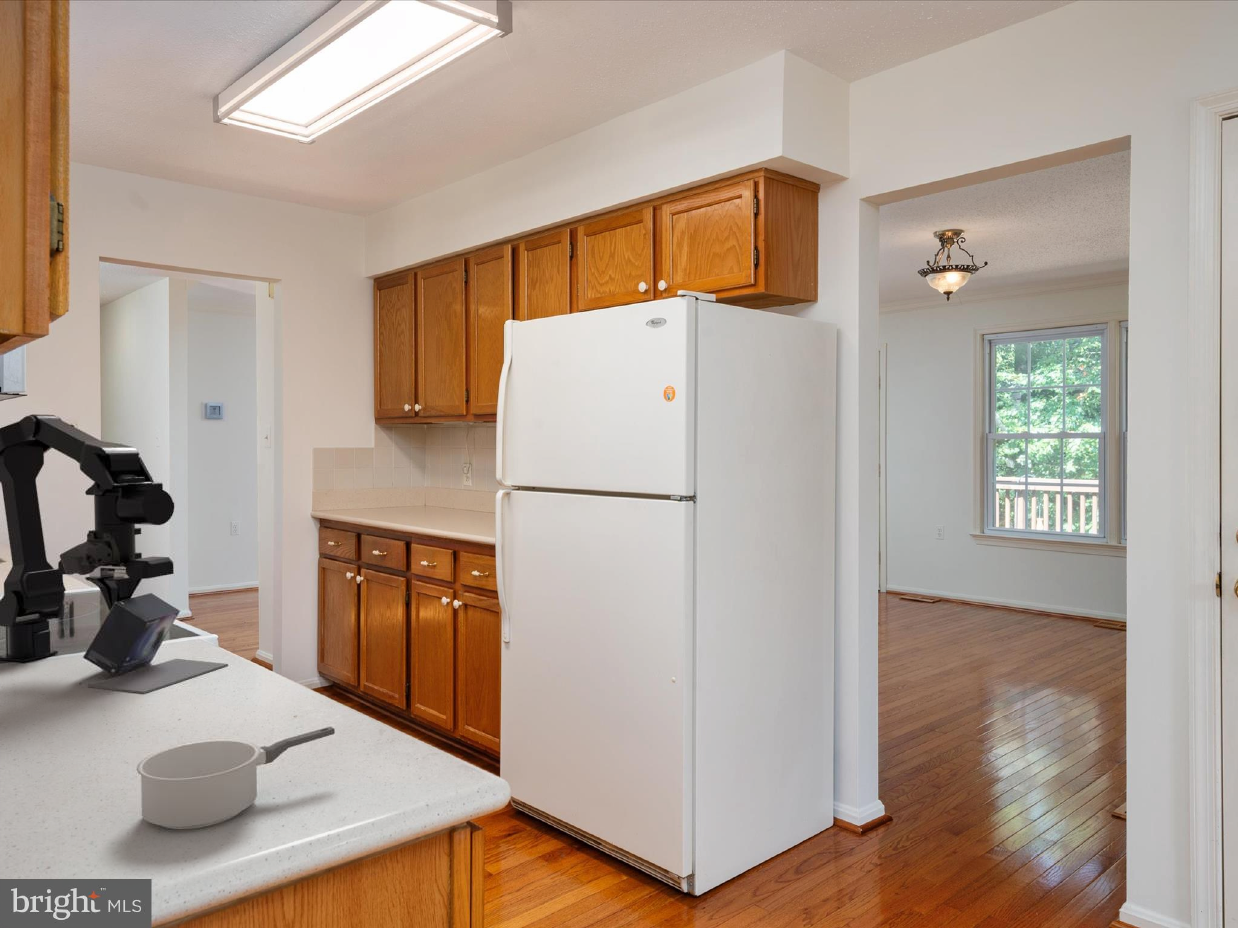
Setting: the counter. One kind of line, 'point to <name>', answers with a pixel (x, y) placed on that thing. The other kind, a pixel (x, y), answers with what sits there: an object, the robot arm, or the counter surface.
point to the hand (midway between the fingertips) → (117, 618)
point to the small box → (131, 634)
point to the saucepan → (206, 779)
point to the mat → (158, 676)
